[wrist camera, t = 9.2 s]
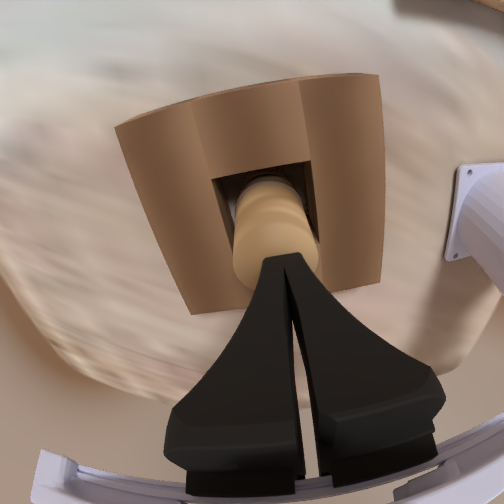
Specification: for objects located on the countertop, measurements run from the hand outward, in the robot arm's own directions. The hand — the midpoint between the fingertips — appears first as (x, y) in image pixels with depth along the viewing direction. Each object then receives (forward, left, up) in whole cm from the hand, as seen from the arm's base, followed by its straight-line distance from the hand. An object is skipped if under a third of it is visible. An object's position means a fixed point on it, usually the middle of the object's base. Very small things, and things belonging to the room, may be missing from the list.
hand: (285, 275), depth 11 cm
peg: (0, -1, -7) cm, 7 cm away
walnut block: (0, 0, -7) cm, 7 cm away
